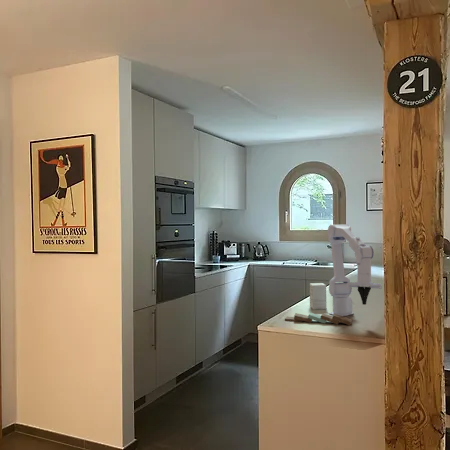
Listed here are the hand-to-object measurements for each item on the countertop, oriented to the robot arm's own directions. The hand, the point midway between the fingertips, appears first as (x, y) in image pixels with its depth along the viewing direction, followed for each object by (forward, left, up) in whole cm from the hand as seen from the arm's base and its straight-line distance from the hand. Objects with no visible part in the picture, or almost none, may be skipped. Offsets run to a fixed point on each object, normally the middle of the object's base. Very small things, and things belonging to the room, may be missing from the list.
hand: (364, 304), depth 205 cm
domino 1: (+14, -24, -9) cm, 29 cm away
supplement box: (-13, -39, -10) cm, 42 cm away
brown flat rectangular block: (+3, -5, -9) cm, 10 cm away
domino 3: (+9, -14, -9) cm, 19 cm away
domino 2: (+12, -20, -9) cm, 25 cm away
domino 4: (+6, -9, -9) cm, 14 cm away
